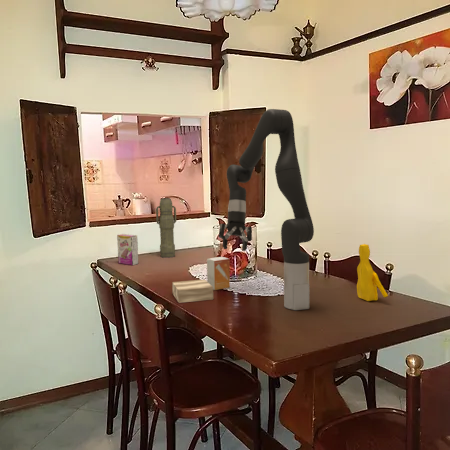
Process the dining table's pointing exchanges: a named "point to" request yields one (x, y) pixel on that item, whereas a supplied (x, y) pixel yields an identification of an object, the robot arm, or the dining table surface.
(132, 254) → the candy bar box
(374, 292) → the figure statuette
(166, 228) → the thermos
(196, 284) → the birch block
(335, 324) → the dining table surface
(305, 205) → the robot arm
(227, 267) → the small box
